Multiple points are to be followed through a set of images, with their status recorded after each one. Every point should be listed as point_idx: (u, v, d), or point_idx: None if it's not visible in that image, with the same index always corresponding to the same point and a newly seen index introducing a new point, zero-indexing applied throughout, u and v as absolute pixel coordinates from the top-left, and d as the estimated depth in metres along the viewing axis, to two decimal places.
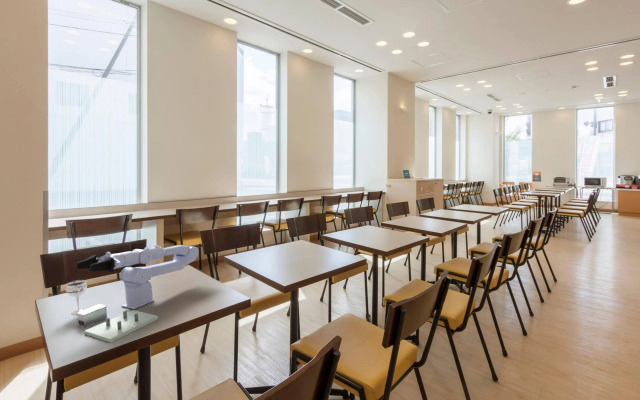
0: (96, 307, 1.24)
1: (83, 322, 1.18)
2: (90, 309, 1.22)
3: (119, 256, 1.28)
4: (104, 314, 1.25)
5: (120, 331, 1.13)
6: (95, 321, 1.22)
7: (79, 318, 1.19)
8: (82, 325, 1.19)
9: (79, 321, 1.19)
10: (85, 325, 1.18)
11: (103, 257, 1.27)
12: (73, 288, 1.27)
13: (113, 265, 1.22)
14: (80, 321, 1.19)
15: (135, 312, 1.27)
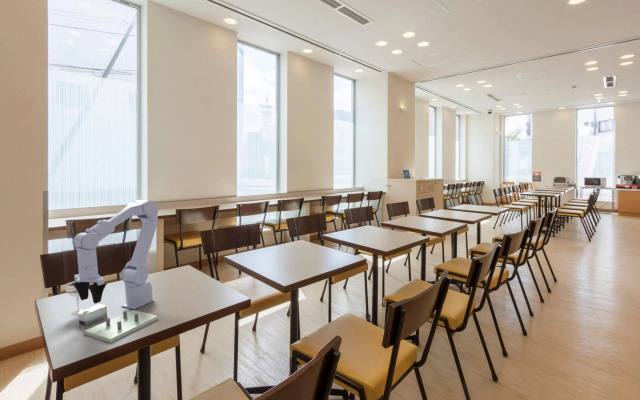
0: (96, 307, 1.24)
1: (84, 322, 1.18)
2: (90, 309, 1.22)
3: (85, 271, 1.18)
4: (104, 314, 1.25)
5: (120, 331, 1.13)
6: (96, 321, 1.22)
7: (80, 318, 1.19)
8: (83, 325, 1.19)
9: (80, 321, 1.19)
10: (86, 325, 1.19)
11: None
12: (73, 288, 1.27)
13: (100, 285, 1.19)
14: (80, 321, 1.19)
15: (135, 312, 1.27)
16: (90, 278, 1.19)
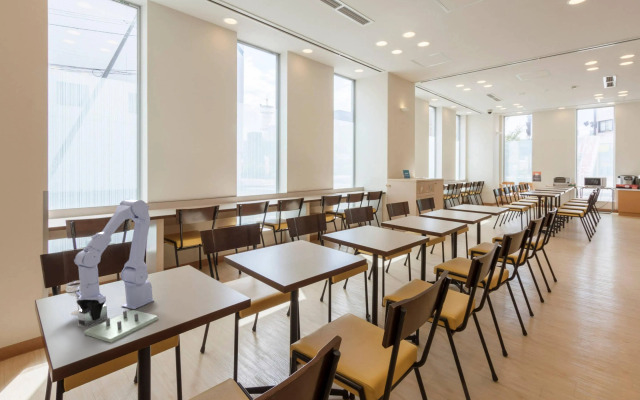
0: None
1: (84, 321, 1.18)
2: None
3: (87, 289, 1.19)
4: (104, 313, 1.25)
5: (120, 331, 1.13)
6: (96, 320, 1.22)
7: (80, 318, 1.19)
8: (83, 324, 1.19)
9: (80, 321, 1.19)
10: (86, 324, 1.19)
11: None
12: (73, 288, 1.27)
13: None
14: (80, 321, 1.19)
15: (135, 312, 1.27)
16: (92, 296, 1.20)
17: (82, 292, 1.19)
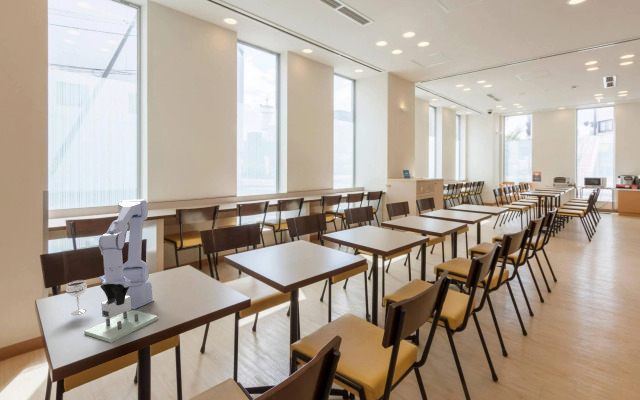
0: None
1: (108, 312, 1.14)
2: (114, 299, 1.18)
3: (112, 273, 1.15)
4: (128, 305, 1.20)
5: (120, 331, 1.13)
6: (119, 312, 1.17)
7: (103, 308, 1.15)
8: (107, 315, 1.15)
9: (103, 311, 1.15)
10: (110, 315, 1.14)
11: None
12: (73, 288, 1.27)
13: (123, 286, 1.16)
14: (104, 311, 1.15)
15: (135, 312, 1.27)
16: (116, 280, 1.15)
17: (106, 276, 1.15)
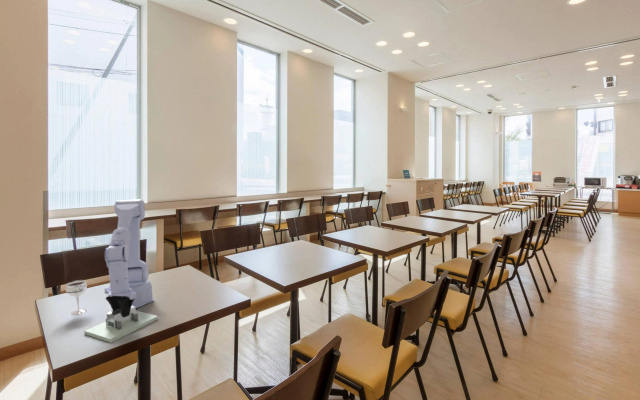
0: None
1: (113, 323, 1.14)
2: (119, 310, 1.18)
3: (117, 285, 1.14)
4: (133, 315, 1.20)
5: (120, 331, 1.13)
6: (125, 322, 1.17)
7: (109, 319, 1.15)
8: (112, 326, 1.14)
9: (109, 322, 1.15)
10: (115, 326, 1.14)
11: None
12: (73, 288, 1.27)
13: (129, 298, 1.16)
14: (109, 322, 1.15)
15: None
16: (122, 292, 1.15)
17: (112, 288, 1.15)
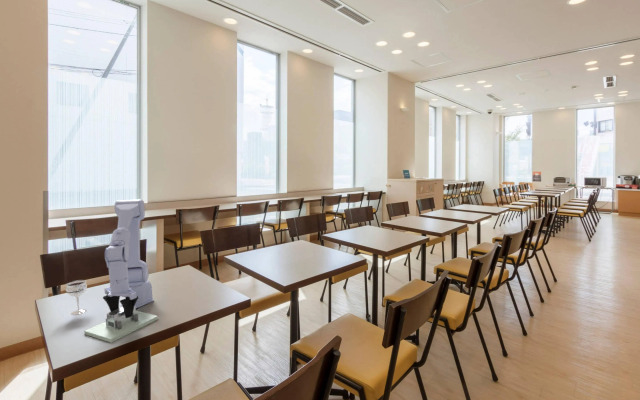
0: None
1: (113, 323, 1.14)
2: (119, 310, 1.18)
3: (117, 285, 1.14)
4: (133, 315, 1.20)
5: (120, 331, 1.13)
6: (125, 322, 1.17)
7: (109, 319, 1.15)
8: (112, 326, 1.14)
9: (109, 322, 1.15)
10: (115, 326, 1.14)
11: None
12: (73, 288, 1.27)
13: (132, 299, 1.15)
14: (109, 322, 1.15)
15: None
16: (122, 292, 1.15)
17: (112, 288, 1.15)
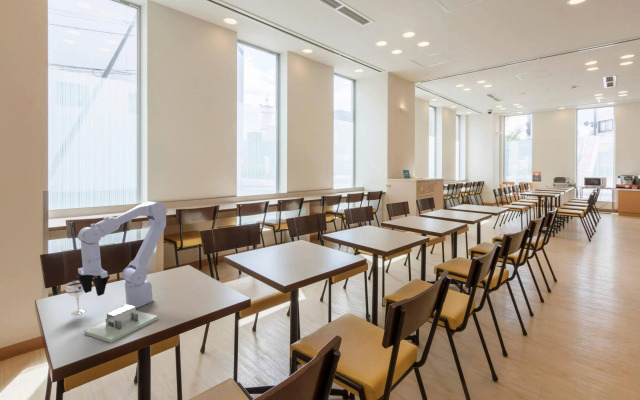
0: (125, 308, 1.19)
1: (113, 323, 1.14)
2: (119, 310, 1.18)
3: (89, 265, 1.22)
4: (133, 315, 1.20)
5: (120, 331, 1.13)
6: (125, 322, 1.17)
7: (109, 319, 1.15)
8: (112, 326, 1.14)
9: (109, 322, 1.15)
10: (115, 326, 1.14)
11: None
12: (73, 288, 1.27)
13: (103, 277, 1.22)
14: (109, 322, 1.15)
15: None
16: (94, 271, 1.23)
17: (84, 267, 1.22)
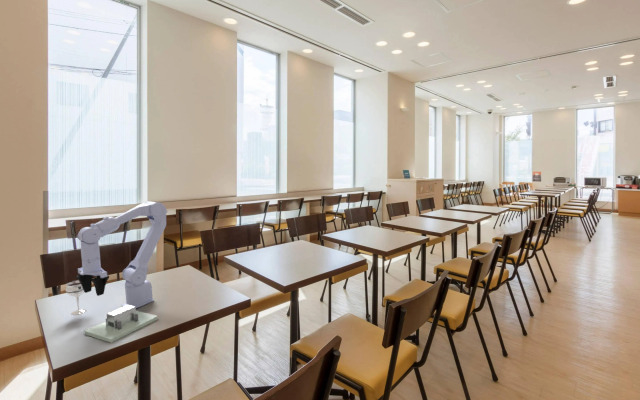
0: (125, 308, 1.19)
1: (113, 323, 1.14)
2: (119, 310, 1.18)
3: (89, 264, 1.22)
4: (133, 315, 1.20)
5: (120, 331, 1.13)
6: (125, 322, 1.17)
7: (109, 319, 1.15)
8: (112, 326, 1.14)
9: (109, 322, 1.15)
10: (115, 326, 1.14)
11: None
12: (73, 288, 1.27)
13: (103, 277, 1.23)
14: (109, 322, 1.15)
15: None
16: (93, 271, 1.23)
17: (84, 267, 1.22)
